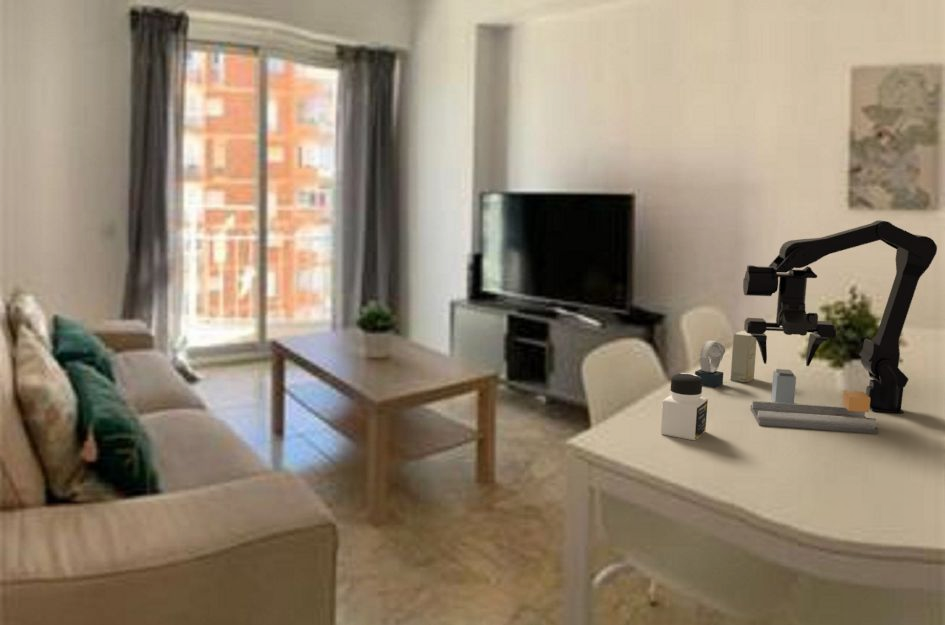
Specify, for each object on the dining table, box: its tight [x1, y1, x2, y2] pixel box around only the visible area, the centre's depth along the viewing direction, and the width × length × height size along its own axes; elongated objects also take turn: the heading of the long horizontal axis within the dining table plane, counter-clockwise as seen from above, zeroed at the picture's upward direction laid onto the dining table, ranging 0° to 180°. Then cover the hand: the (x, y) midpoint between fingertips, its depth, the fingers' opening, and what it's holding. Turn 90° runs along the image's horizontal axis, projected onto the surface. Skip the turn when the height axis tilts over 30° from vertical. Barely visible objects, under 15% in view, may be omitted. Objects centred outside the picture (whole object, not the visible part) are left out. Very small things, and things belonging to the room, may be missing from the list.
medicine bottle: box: [660, 372, 709, 441], centre depth 159 cm, size 7×7×12 cm
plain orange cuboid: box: [841, 390, 870, 413], centre depth 167 cm, size 4×5×3 cm
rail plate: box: [750, 400, 879, 435], centre depth 169 cm, size 23×12×2 cm, turn 79°
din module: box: [770, 368, 797, 403], centre depth 182 cm, size 4×5×8 cm
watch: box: [694, 339, 726, 389], centre depth 198 cm, size 6×8×11 cm
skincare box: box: [730, 330, 757, 383], centre depth 203 cm, size 6×4×12 cm
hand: (786, 364), depth 181 cm, fingers open, 9 cm apart
